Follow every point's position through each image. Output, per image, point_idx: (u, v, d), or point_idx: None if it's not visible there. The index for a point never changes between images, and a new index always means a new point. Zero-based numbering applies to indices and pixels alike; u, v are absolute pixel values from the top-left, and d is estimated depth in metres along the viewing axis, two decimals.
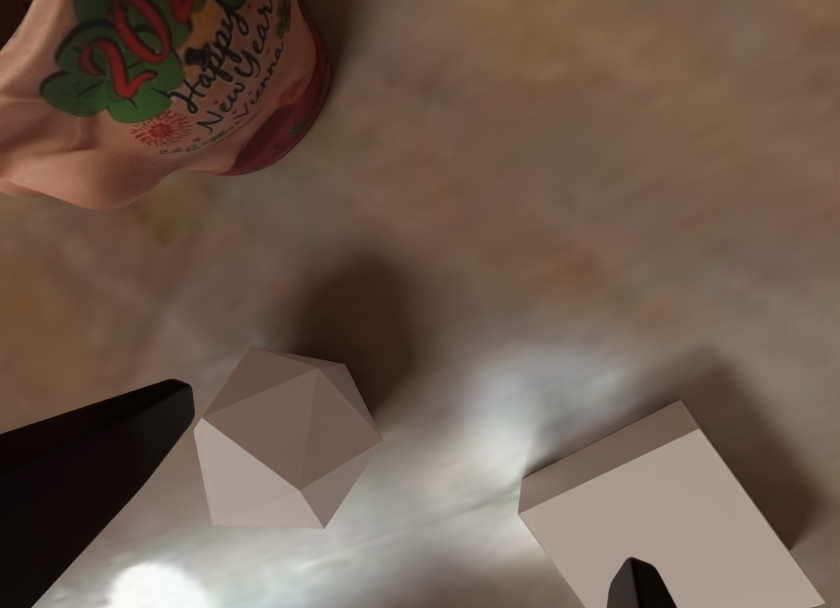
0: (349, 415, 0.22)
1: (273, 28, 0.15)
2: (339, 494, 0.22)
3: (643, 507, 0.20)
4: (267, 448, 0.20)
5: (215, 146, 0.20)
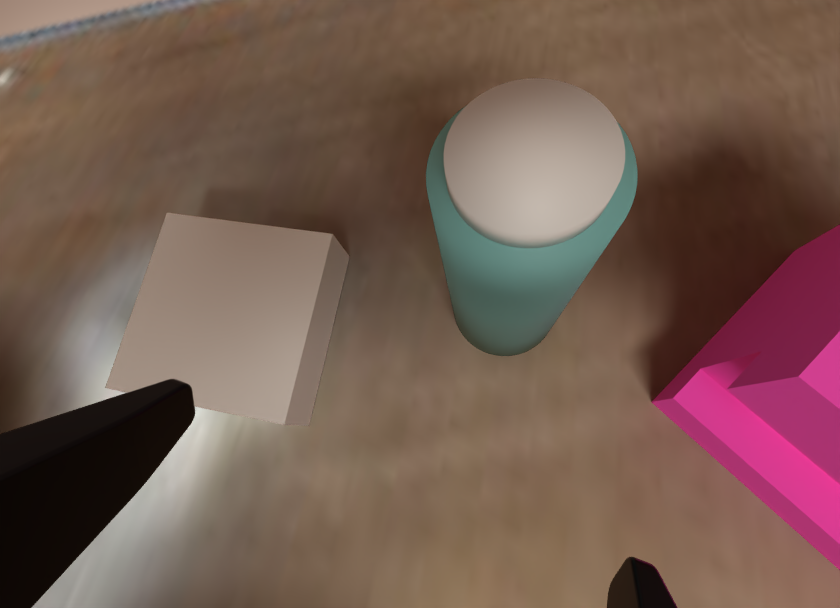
0: None
1: None
2: None
3: (181, 289, 0.22)
4: None
5: None
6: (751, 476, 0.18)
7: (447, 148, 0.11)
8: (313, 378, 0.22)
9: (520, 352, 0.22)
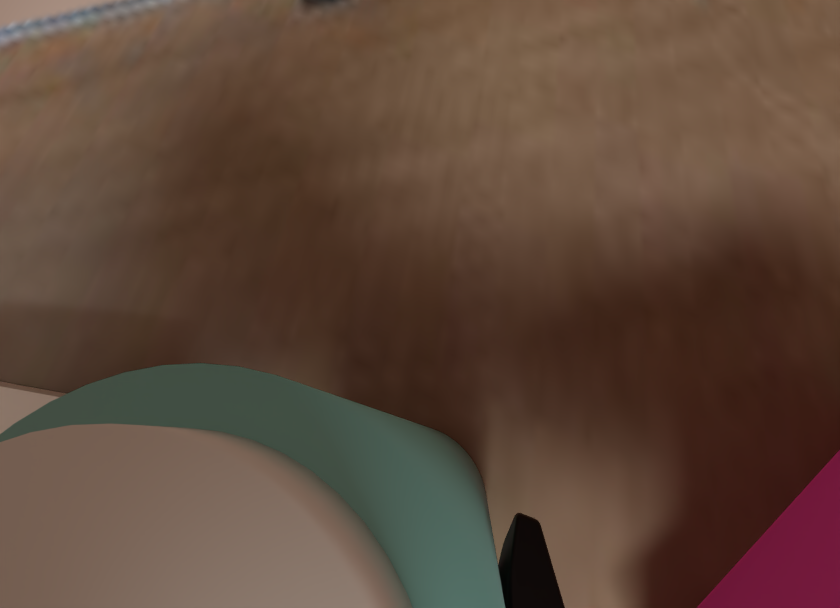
0: None
1: None
2: None
3: None
4: None
5: None
6: None
7: None
8: None
9: None
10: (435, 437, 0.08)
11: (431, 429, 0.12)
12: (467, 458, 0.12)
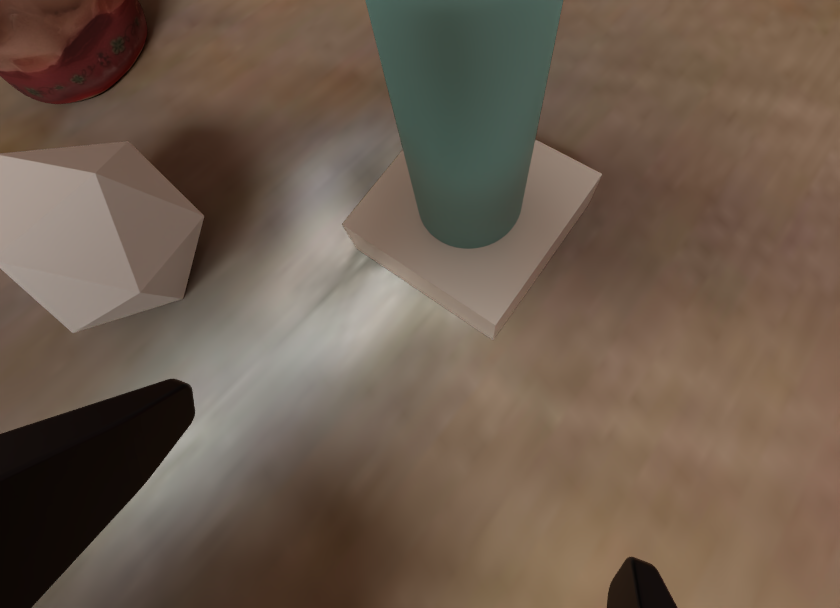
0: (163, 180, 0.23)
1: None
2: (154, 246, 0.21)
3: None
4: (65, 161, 0.20)
5: (41, 19, 0.26)
6: None
7: None
8: (519, 299, 0.23)
9: (486, 242, 0.21)
10: None
11: None
12: None
